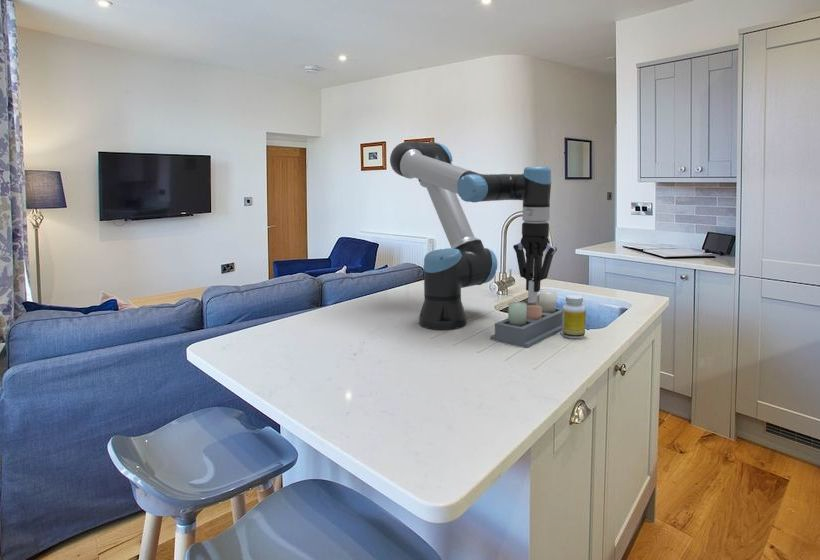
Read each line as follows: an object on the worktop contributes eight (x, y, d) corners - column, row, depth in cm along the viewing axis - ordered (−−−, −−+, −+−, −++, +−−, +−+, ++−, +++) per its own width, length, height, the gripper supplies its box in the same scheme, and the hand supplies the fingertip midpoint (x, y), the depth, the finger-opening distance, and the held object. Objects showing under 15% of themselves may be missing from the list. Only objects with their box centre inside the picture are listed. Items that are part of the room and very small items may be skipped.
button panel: (490, 339, 144) (490, 322, 143) (536, 319, 163) (536, 304, 162) (527, 347, 136) (528, 330, 135) (571, 325, 155) (572, 310, 154)
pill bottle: (586, 339, 142) (588, 299, 140) (562, 338, 143) (563, 299, 141) (583, 333, 148) (584, 294, 146) (560, 332, 149) (561, 294, 147)
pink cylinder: (520, 327, 149) (521, 307, 148) (529, 323, 153) (529, 304, 152) (536, 330, 146) (536, 310, 145) (544, 326, 149) (545, 306, 148)
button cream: (536, 312, 155) (536, 293, 154) (543, 308, 159) (544, 290, 158) (551, 314, 152) (551, 295, 151) (558, 311, 155) (559, 292, 154)
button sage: (504, 324, 142) (505, 304, 141) (514, 321, 146) (514, 300, 145) (520, 327, 139) (520, 306, 138) (529, 324, 142) (530, 303, 141)
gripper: (508, 221, 145) (506, 300, 150) (550, 224, 136) (546, 308, 141) (522, 219, 150) (519, 296, 155) (562, 222, 142) (558, 303, 146)
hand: (532, 301), depth 148 cm, fingers closed
